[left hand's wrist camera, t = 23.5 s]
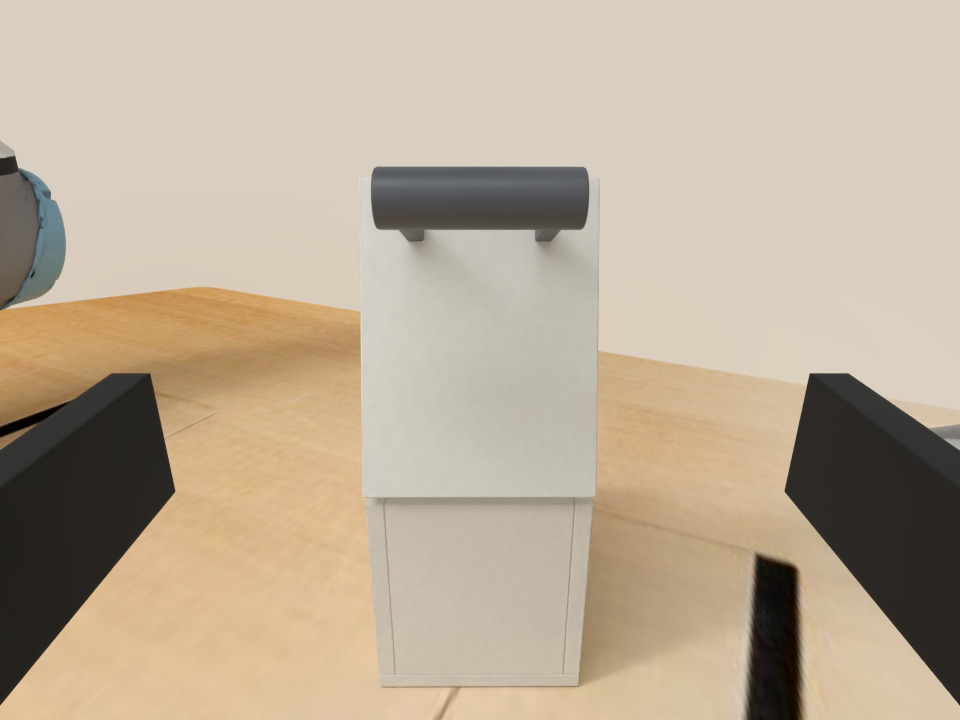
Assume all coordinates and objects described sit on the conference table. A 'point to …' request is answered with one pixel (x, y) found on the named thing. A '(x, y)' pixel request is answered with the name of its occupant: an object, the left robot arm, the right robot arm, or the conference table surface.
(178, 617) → the conference table surface
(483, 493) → the lid
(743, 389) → the conference table surface
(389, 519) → the chest
